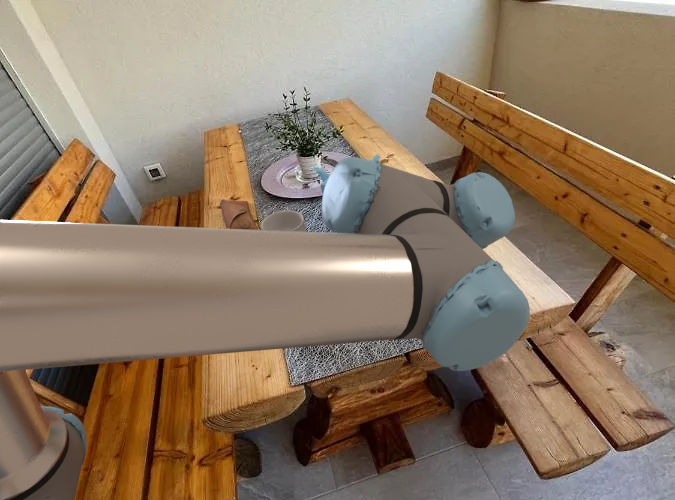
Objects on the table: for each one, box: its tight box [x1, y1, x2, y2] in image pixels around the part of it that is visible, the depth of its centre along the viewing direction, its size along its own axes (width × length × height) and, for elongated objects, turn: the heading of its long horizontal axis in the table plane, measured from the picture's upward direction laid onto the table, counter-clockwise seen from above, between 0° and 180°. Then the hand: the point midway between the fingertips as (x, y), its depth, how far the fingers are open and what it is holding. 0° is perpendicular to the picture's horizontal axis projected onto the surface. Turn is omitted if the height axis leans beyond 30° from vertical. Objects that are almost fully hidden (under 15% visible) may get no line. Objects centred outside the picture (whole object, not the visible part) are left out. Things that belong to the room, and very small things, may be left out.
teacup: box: [260, 209, 306, 232], centre depth 98 cm, size 14×11×8 cm
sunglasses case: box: [219, 199, 259, 230], centre depth 114 cm, size 18×7×7 cm
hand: (328, 294), depth 69 cm, fingers open, 13 cm apart
